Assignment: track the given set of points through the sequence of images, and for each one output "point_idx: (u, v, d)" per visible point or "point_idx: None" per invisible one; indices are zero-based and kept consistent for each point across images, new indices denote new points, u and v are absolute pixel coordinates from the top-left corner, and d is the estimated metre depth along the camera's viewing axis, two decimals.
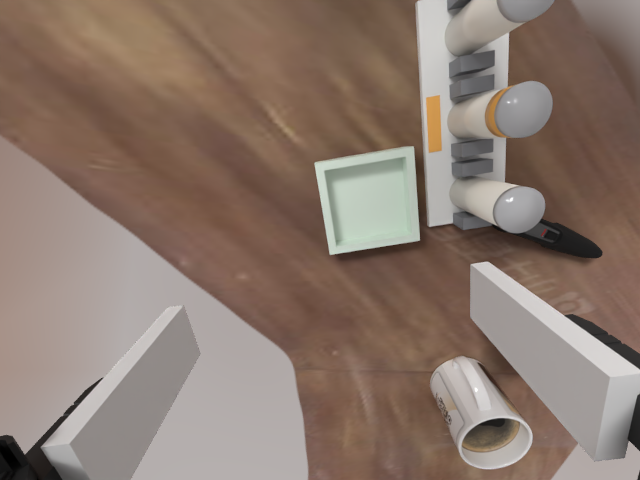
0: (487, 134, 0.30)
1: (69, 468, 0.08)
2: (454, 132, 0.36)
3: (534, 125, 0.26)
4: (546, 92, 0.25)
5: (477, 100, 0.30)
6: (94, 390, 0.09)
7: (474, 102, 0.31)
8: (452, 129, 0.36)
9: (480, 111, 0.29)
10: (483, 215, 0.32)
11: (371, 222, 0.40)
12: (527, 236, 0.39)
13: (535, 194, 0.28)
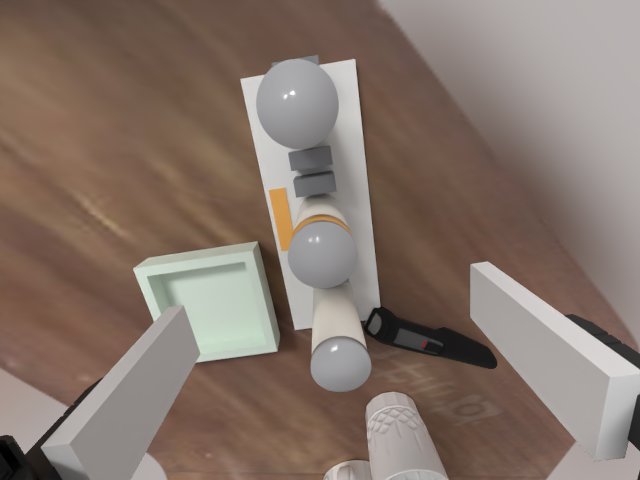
0: None
1: (69, 468, 0.08)
2: None
3: (337, 274, 0.19)
4: (346, 236, 0.19)
5: (300, 215, 0.24)
6: (94, 390, 0.09)
7: (299, 215, 0.24)
8: None
9: None
10: None
11: (224, 325, 0.34)
12: (404, 348, 0.32)
13: (355, 350, 0.22)
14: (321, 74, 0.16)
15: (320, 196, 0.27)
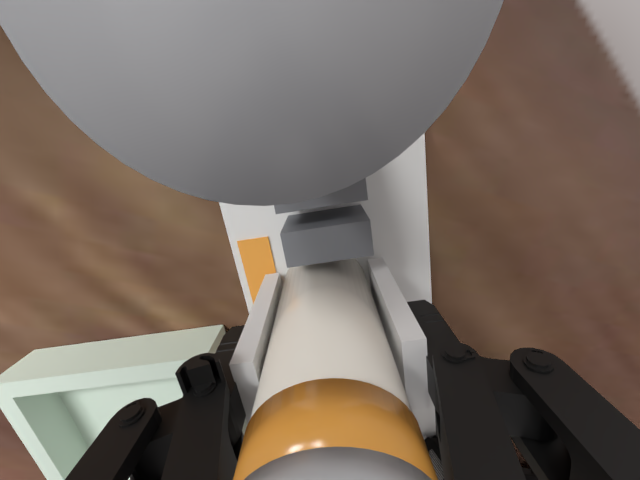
0: None
1: (247, 383, 0.09)
2: None
3: None
4: None
5: (279, 330, 0.10)
6: (245, 330, 0.11)
7: (277, 325, 0.10)
8: None
9: None
10: None
11: None
12: None
13: None
14: None
15: (326, 263, 0.13)
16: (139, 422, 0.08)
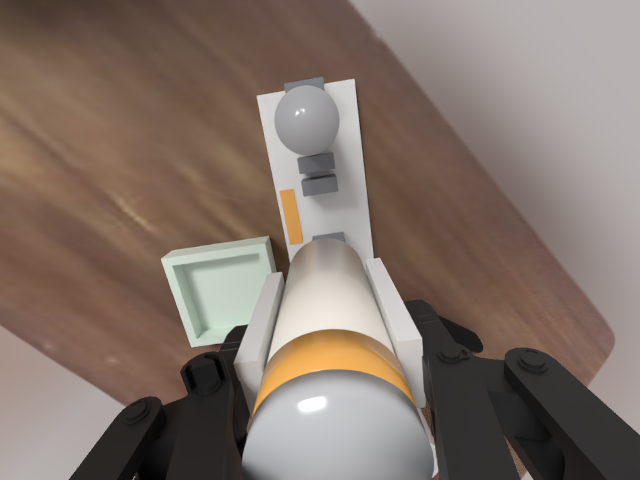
0: None
1: (251, 382, 0.09)
2: None
3: None
4: (406, 427, 0.07)
5: (287, 301, 0.12)
6: (248, 329, 0.11)
7: (286, 298, 0.12)
8: None
9: None
10: None
11: (238, 311, 0.38)
12: None
13: None
14: (325, 97, 0.20)
15: (327, 249, 0.15)
16: (144, 421, 0.08)
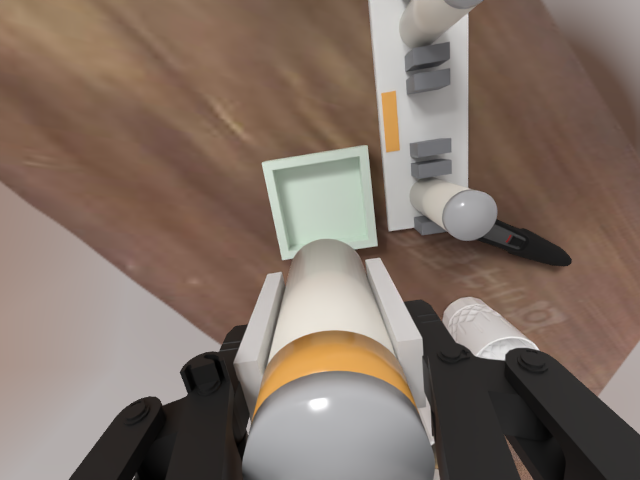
0: None
1: (251, 382, 0.09)
2: None
3: None
4: (407, 429, 0.07)
5: (288, 302, 0.12)
6: (248, 329, 0.11)
7: (286, 299, 0.12)
8: None
9: None
10: (435, 220, 0.29)
11: (327, 225, 0.38)
12: (491, 242, 0.36)
13: (486, 198, 0.26)
14: None
15: (327, 250, 0.15)
16: (144, 421, 0.08)
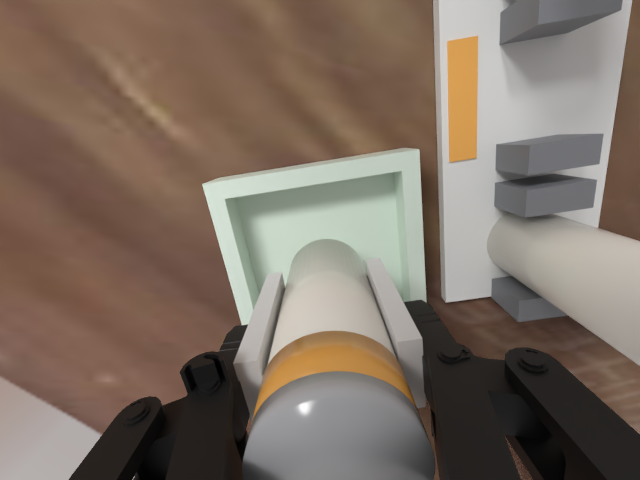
0: None
1: (251, 382, 0.09)
2: None
3: None
4: (407, 429, 0.07)
5: (288, 302, 0.12)
6: (248, 329, 0.11)
7: (286, 299, 0.12)
8: None
9: None
10: (597, 330, 0.12)
11: None
12: None
13: None
14: None
15: (327, 250, 0.15)
16: (144, 421, 0.08)
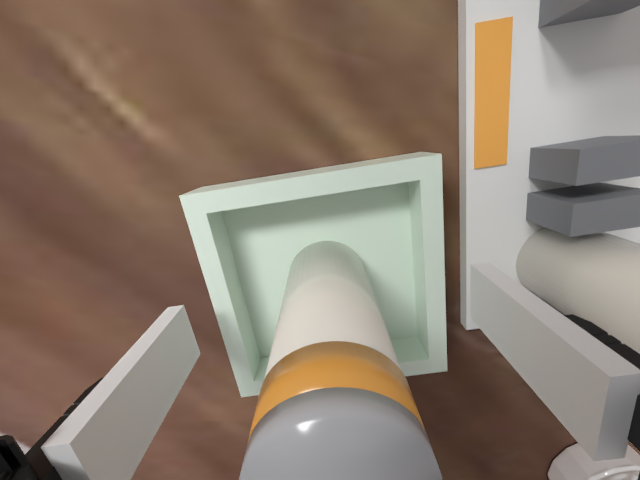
0: None
1: (69, 468, 0.08)
2: None
3: None
4: (413, 450, 0.06)
5: (287, 309, 0.11)
6: (94, 390, 0.09)
7: (285, 305, 0.12)
8: None
9: None
10: None
11: None
12: None
13: None
14: None
15: (327, 253, 0.15)
16: None
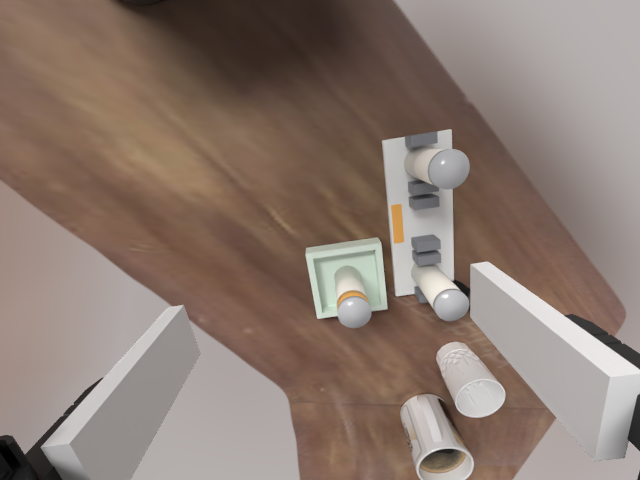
0: None
1: (69, 468, 0.08)
2: None
3: (361, 321, 0.40)
4: (366, 304, 0.39)
5: (339, 285, 0.44)
6: (94, 390, 0.09)
7: (338, 285, 0.45)
8: None
9: (336, 299, 0.43)
10: (429, 302, 0.43)
11: None
12: None
13: (461, 296, 0.39)
14: (463, 155, 0.33)
15: (348, 270, 0.48)
16: None
